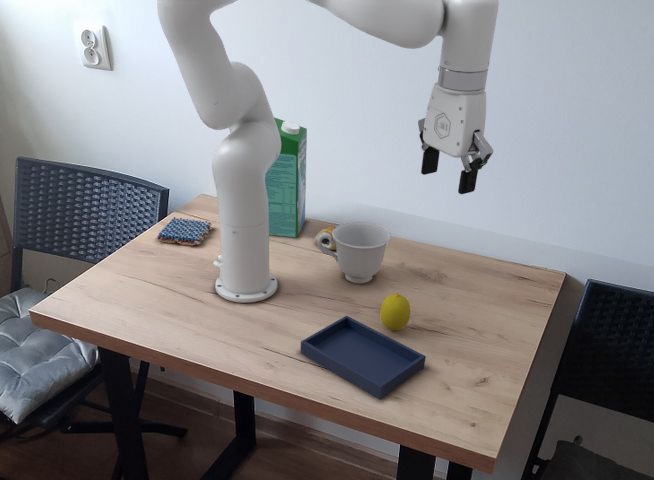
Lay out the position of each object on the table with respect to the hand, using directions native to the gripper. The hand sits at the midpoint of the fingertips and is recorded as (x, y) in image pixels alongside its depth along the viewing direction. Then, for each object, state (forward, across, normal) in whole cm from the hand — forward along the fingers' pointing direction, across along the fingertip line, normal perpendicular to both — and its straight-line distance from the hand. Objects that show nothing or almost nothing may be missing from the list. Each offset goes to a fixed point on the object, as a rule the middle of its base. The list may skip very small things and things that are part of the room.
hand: (447, 182), depth 120 cm
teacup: (+27, -20, -4) cm, 34 cm away
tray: (+27, +6, -20) cm, 34 cm away
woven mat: (+28, -55, -27) cm, 67 cm away
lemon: (+27, +1, -9) cm, 29 cm away
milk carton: (+28, -48, -5) cm, 55 cm away
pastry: (+27, -35, +1) cm, 44 cm away
